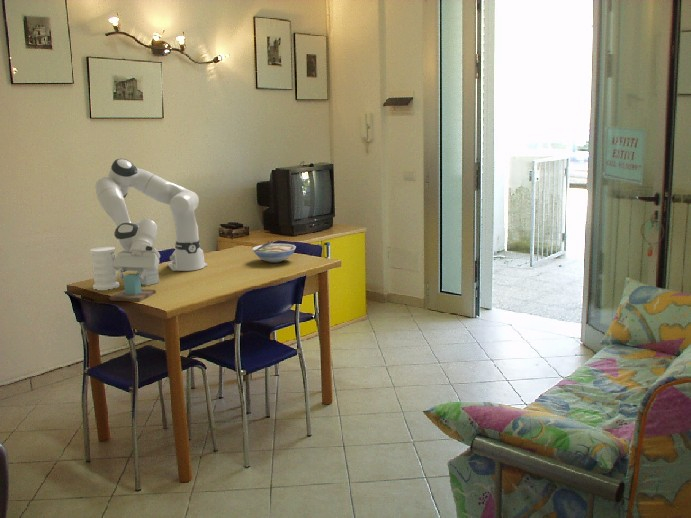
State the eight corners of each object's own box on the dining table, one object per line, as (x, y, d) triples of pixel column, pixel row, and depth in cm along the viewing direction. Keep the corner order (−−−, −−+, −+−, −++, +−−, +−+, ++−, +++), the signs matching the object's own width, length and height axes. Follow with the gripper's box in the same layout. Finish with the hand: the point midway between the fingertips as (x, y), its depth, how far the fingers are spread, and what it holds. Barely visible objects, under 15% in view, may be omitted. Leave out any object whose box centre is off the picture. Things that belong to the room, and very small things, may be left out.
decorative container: (121, 283, 326) (117, 245, 322) (117, 289, 315) (113, 250, 311) (95, 284, 325) (91, 246, 321) (90, 290, 313) (86, 251, 310)
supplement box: (150, 280, 330) (148, 254, 328) (159, 282, 326) (157, 256, 323) (136, 283, 325) (134, 257, 322) (146, 285, 320) (143, 259, 317)
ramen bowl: (287, 267, 351) (286, 251, 349) (245, 265, 357) (244, 250, 355) (303, 257, 375) (302, 242, 373) (263, 255, 380) (262, 241, 379)
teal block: (131, 291, 305) (129, 273, 303) (141, 291, 304) (140, 274, 302) (125, 294, 300) (123, 276, 298) (135, 294, 299) (133, 276, 297)
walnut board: (126, 291, 310) (126, 288, 310) (155, 293, 307) (155, 289, 307) (109, 300, 297) (109, 296, 296) (139, 301, 294) (139, 298, 293)
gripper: (115, 246, 306) (105, 273, 299) (158, 248, 302) (148, 275, 295) (122, 254, 312) (112, 281, 304) (163, 255, 307) (154, 282, 300)
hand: (130, 278), depth 299 cm, fingers open, 8 cm apart
